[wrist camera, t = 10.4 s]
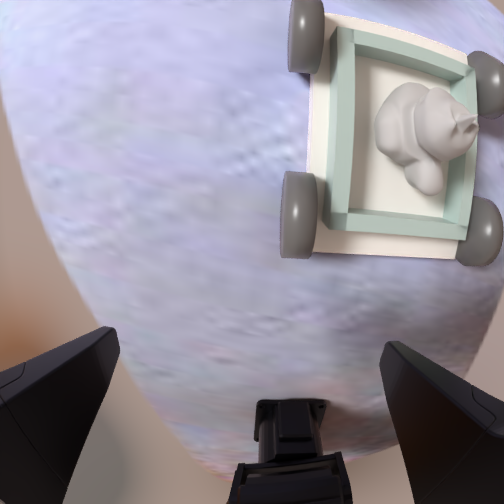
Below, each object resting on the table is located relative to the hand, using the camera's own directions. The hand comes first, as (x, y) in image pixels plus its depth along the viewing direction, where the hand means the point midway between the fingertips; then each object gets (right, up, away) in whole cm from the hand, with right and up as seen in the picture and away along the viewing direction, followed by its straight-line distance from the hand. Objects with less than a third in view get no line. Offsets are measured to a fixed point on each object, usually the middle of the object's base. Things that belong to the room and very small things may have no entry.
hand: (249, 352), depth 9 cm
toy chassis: (+10, +11, +9) cm, 17 cm away
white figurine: (+10, +10, +8) cm, 16 cm away
